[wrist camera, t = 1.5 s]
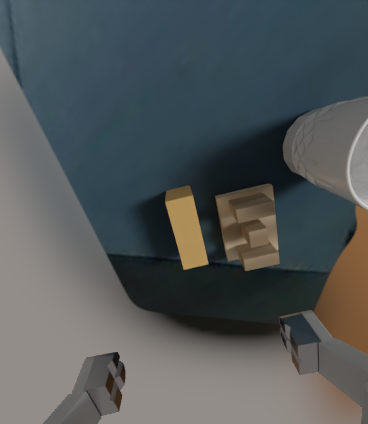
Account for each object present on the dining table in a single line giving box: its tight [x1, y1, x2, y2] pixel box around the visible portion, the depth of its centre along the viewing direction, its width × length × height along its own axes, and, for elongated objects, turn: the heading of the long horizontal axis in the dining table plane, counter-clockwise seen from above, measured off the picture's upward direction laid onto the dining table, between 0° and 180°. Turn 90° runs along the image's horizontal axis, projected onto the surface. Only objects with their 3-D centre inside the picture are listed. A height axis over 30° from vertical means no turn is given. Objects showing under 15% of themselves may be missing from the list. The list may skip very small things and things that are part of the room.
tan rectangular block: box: [165, 185, 208, 270], centre depth 24 cm, size 8×3×4 cm, turn 13°
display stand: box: [215, 183, 280, 271], centre depth 24 cm, size 8×6×4 cm
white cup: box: [282, 96, 368, 210], centre depth 18 cm, size 8×8×10 cm
